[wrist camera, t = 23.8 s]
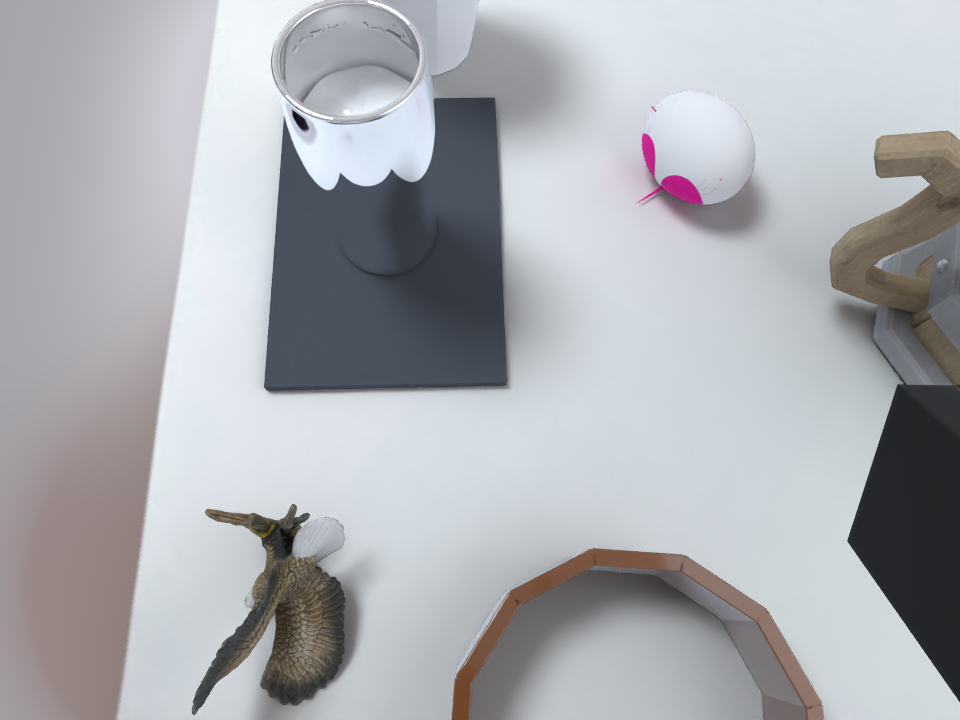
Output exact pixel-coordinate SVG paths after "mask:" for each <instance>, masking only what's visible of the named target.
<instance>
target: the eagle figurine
mask: <svg viewBox="0 0 960 720" xmlns="http://www.w3.org/2000/svg"><path fill="white" fill-rule="evenodd" d="M296 511H297V506H296V505H295V504H292V505H291V507H290V509H289V512H288V514H287V515H286V517H285V518H283V519H280V520H279V521H278V520H273V519H269V518H265V517H262V516H260V515H258V514H255V513H251V514H242V513H229V512H223V511H219V510H212V509H207V510H206V511H205V513H206V515H207V516H208V517H210V518H212V519H214V520H215V521H218V522H225V523H231V524H233V525H242V526H244V527H246V528H248V529H250V531H251V532H253V533H254V534H256V535H257V536H259V537H261V539H262V545H263V547H264V548H265V549H266V551H267V562H266V567H265V570H264V572H262V573H261V574H260V575H259V577H258V578H257V579H256V581H255V584H254V586H253V588H252V590H251V591H250V593H249V594H248V596H247V598H245V606H246V607H250V608H253V609H252V611H251V612H250V613H249V614H248V617H247V618H246V619H245V620H244V623H243V624H242V625H241V626H239V627H237V629H236V631H235V633H234V634H233V635H232V636H230V637H229V638H227V639H226V640H225V641H224V642H223V643H222V647H221V648H220V649H219V650H218V651H217V653H216V656H217V657H216V658H215V659H214V660H213V662H212V664H211V667H210V668H209V669H208V671H207V673H206V675H205V677H204V679H203V680H202V682H201V684H200V686H199V688H198V690H197V692H196V694H195V698H194V700H193V704H194V705H193V707H192V714H193V715H195V714H196V713H197V711H198V709H199V708H200V707H202V705H203V704H204V702H205V700H206V698H207V697H208V695H209V694H210V692H211V690H212V688H213V687H214V685H215V684H216V683H217V682H218V681H219V680H220V679H222V678H223V677H225V676H226V675H228V674H229V673H230V672H231V671H232V670H234V669H235V668H237V667H238V666H239V665H240V664H241V663H242V662H243V661H244V660H245V659H246V658H247V657H248V656H249V655H250V653H251V651H252V650H253V648H254V647H255V646H256V644H257V643H258V641H259V640H260V638H261V637H262V635H263V633H264V632H265V630H266V627H267V626H268V624H269V622H270V619H271V618H272V616H273V614H274V613H275V618H276V631H275V638H274V643H273V649H272V654H271V657H270V659H269V661H268V663H267V666H266V669H265V671H264V674H263V676H262V680H261V683H260V685H261V688H262V689H267V690H268V693H269V696H270V697H271V698H275V697H278V698H279V702H280V703H281V704H282V705H286V704H287V703H291V705H294V706H295V705H297V704H299V702H300V701H301V700H302V699H303V698H305V699H306V700H309V699H310V698H311V697H312V696H313V695H314V693H315V691H316V688H317V687H319V688H320V689H322V688H324V687H325V686H326V683H327V680H329V681H330V680H332V679H333V678H334V676H335V674H336V672H337V671H338V668H339V667H338V666H339V665H340V664H341V663H342V655H343V654H344V647H343V643H344V632H343V631H342V629H343V627H344V623H343V621H344V615H343V610H344V609H345V605H344V603H345V598H344V593H343V591H342V589H341V584H340V582H339V581H337V579H336V578H335V577H330V576H329V574H328V573H326V572H324V573H322V569H321V568H320V567H316V566H315V565H316V563H317V562H318V561H320V560H321V559H323V558H325V557H326V556H328V555H329V554H331V553H333V552H335V551H337V550H339V549H341V548H342V546H343V545H344V541H345V537H344V532H343V529H344V528H343V525H342V524H340V523H339V522H338V520H336V519H331V518H328V517H324V518H321V519H317V520H315V521H312V522H309V523H307V524H306V525H305V526H303V527H301V526H300V525H299V524H301V523H303V522H305V521H306V520H307V519H308V518H309V517H310V514H309V513H305V514H302V515H301V516H300V517H295V518H294V516H295V514H296Z"/></svg>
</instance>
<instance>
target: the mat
mask: <svg viewBox="0 0 960 720" xmlns="http://www.w3.org/2000/svg"><path fill="white" fill-rule="evenodd" d="M434 99H435V108H436V118H437V142H436V150H435V159H434V164H433V169H432V174H431V179H430V183H429V187H428V193H427V199H428V202H429V204H430V206H431V208H432V210H433V213H434V216H435V219H436V224H437V234H436V240H435V243H434V246H433V248H432V250H431V252H430V253H429V255H428V256H427V257H426V259H425V260H424V261H423V262H421V263H420V264H419V265H418V266H416V267H415V268H413V269H411V270H409V271H407V272H404V273H401V274H396V275H376V274H372V273H369V272H366V271H364V270H362V269H360V268H359V267H357V266H356V265H354V264H353V263H352V262H351V261H350V260H349V259H348V257H347V256H346V255H345V253H344V251H343V249H342V247H341V244H340V241H339V236H338V215H337V213H336V212H335V210H334V209H333V208H332V206H331V205H330V204H329V202H328V201H327V200H326V199H325V197H324V196H323V195H322V193H321V192H320V190H319V189H318V188H317V186H316V185H315V184H314V182H313V180H312V179H311V177H310V176H309V174H308V172H307V171H306V169H305V168H304V166H303V164H302V162H301V160H300V158H299V155H298V153H297V151H296V149H295V146H294V144H293V141H292V138H291V135H290V132H289V129H288V127H287V124H286V120H285V116H284V126H283V139H282V153H281V166H280V180H279V194H278V207H277V221H276V234H275V248H274V261H273V275H272V288H271V302H270V315H269V329H268V342H267V356H266V369H265V383H264V388H265V389H266V390H310V389H357V388H403V387H450V386H496V385H506V383H507V379H506V354H505V330H504V306H503V281H502V257H501V233H500V209H499V184H498V160H497V136H496V111H495V98H434Z"/></svg>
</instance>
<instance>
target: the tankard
mask: <svg viewBox="0 0 960 720" xmlns="http://www.w3.org/2000/svg"><path fill="white" fill-rule="evenodd" d="M874 161H875V169H876V175H877V176H879V177H880V178H890V177H905V176H919V175H921V176H922V177H923V178H924V179H925V180H926V181H927V182H928V183H929V184H930V186H928V187H927V188H925V189H924V190H923V191H921V192H920V193H919V194H917V195H916V196H914V197H913V198H912V199H910V200H909V201H908V202H906V203H905V204H903V205H902V206H900V207H898V208H896V209H894V210H891V211H889V212H887V213H885V214H882V215H880V216H878V217H876V218H873V219H871V220H869V221H867V222H864V223H862V224H860V225H858V226H856V227H853V228H851V229H850V230H849V231H848V232H847V233H846V234H845V235H844V236H843V237H842V238H841V239H840V240H839V241H838V242H837V243H836V245H835V246H834V247H833V248H832V250H831V257H830V272H831V283H832V287H833V288H834V289H836V290H839V291H842V292H844V293H847V294H850V295H852V296H855V297H857V298H860V299H863V300H865V301H868V302H871V303H875V304H877V311H876V318H875V325H874V332H873V340H874V341H875V343H876V344H877V345H878V347H879V348H880V349H881V351H882V352H883V353H884V355H885V356H886V357H887V359H888V360H889V362H890V363H891V364H892V366H893V367H894V368H895V370H896V371H897V372H898V374H899V375H900V376H901V378H902V379H903V380H904V382H905V383H906V384H907V385H953V386H954V387H956V388H957V389H958V390H960V140H959V139H958V138H957V137H955V136H954V135H953V134H952V133H951V132H949V131H938V132H925V133H912V134H899V135H886V136H881V137H880V138H878V139H877V140H876V146H875V153H874ZM904 249H905V250H904ZM901 250H903V251H901ZM899 251H901V252H899ZM896 252H899V253H897V254H895V255H894V256H893V257H891V258H890V259H889V260H888V261H886V262H885V263H884V264H883V267H882V270H881V269H879V268H877V267H875V266H874V265H875V264H876V263H877V262H878V261H879V260H880V259H881V258H883V257H886V256H888V255H891V254H893V253H896Z"/></svg>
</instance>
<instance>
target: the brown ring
mask: <svg viewBox="0 0 960 720" xmlns="http://www.w3.org/2000/svg"><path fill="white" fill-rule="evenodd" d="M587 570H595V571H609V572H622V573H636V574H650V575H655V576H657V577H658V578H660V579H661V580H663V581H664V582H666V583H667V584H669V585H670V586H672V587H673V588H675V589H676V590H678V591H679V592H681V593H682V594H684V595H685V596H687V597H688V598H690V599H691V600H693V601H694V602H696V603H697V604H699V605H700V606H702V607H703V608H705V609H706V610H708V611H709V612H711V613H712V614H714V615H715V616H717V617H718V618H720V619H721V621H722V623H723V625H724V626H725V628H726V630H727V632H728V634H729V635H730V637H731V639H732V641H733V642H734V644H735V646H736V648H737V650H738V651H739V653H740V655H741V657H742V659H743V660H744V662H745V664H746V666H747V668H748V669H749V671H750V673H751V675H752V676H753V678H754V680H755V682H756V684H757V685H758V687H759V689H760V691H761V693H762V700H763V718H764V720H824V716H823V706H822V705H821V701H820V699H819V697H818V695H817V694H816V692H815V690H814V689H813V687H812V685H811V683H810V682H809V680H808V678H807V677H806V675H805V673H804V671H803V670H802V668H801V666H800V665H799V663H798V661H797V659H796V658H795V656H794V654H793V652H792V651H791V649H790V647H789V646H788V644H787V642H786V640H785V639H784V637H783V635H782V634H781V632H780V630H779V628H778V627H777V625H776V623H775V622H774V620H773V618H772V616H771V615H770V613H769V612H768V611H767V609H766V608H764V607H763V606H761V605H760V604H758V603H757V602H755V601H754V600H752V599H751V598H749V597H748V596H746V595H745V594H743V593H742V592H740V591H739V590H737V589H736V588H734V587H733V586H731V585H730V584H728V583H726V582H725V581H723V580H722V579H720V578H719V577H717V576H716V575H714V574H713V573H711V572H710V571H708V570H707V569H705V568H704V567H702V566H701V565H699V564H698V563H696V562H695V561H693V560H692V559H690V558H689V557H687V556H684V555H681V554H667V553H653V552H639V551H625V550H611V549H598V548H592V549H588V550H586V551H583V552H581V553H578V554H575V555H573V556H572V557H570V558H568V559H566V560H564V561H562V562H560V563H558V564H556V565H554V566H552V567H550V568H548V569H546V570H545V571H543V572H541V573H539V574H537V575H535V576H533V577H531V578H529V579H527V580H525V581H523V582H521V583H519V584H518V585H516V586H514V587H512V588H510V589H508V590H506V591H505V593H503V594H502V595H501V597H500V598H499V600H498V602H497V603H496V605H495V606H494V608H493V609H492V611H491V613H490V614H489V616H488V617H487V619H486V621H485V622H484V624H483V625H482V627H481V629H480V630H479V632H478V633H477V635H476V637H475V638H474V640H473V641H472V643H471V644H470V646H469V648H468V649H467V651H466V652H465V654H464V656H463V657H462V659H461V660H460V662H459V664H458V666H457V668H456V674H455V682H454V696H453V709H452V720H470V709H471V694H472V683H473V681H474V680H475V678H476V676H477V675H478V673H479V672H480V670H481V668H482V667H483V665H484V663H485V662H486V660H487V659H488V657H489V655H490V654H491V652H492V650H493V649H494V647H495V646H496V644H497V642H498V641H499V639H500V638H501V636H502V634H503V633H504V631H505V629H506V628H507V626H508V625H509V623H510V621H511V620H512V618H513V616H514V615H515V613H516V612H517V610H518V608H519V607H520V605H522V604H524V603H526V602H528V601H529V600H531V599H533V598H535V597H537V596H539V595H541V594H543V593H545V592H547V591H549V590H550V589H552V588H554V587H556V586H558V585H560V584H562V583H564V582H566V581H568V580H570V579H571V578H573V577H575V576H577V575H579V574H581V573H583V572H585V571H587Z"/></svg>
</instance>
